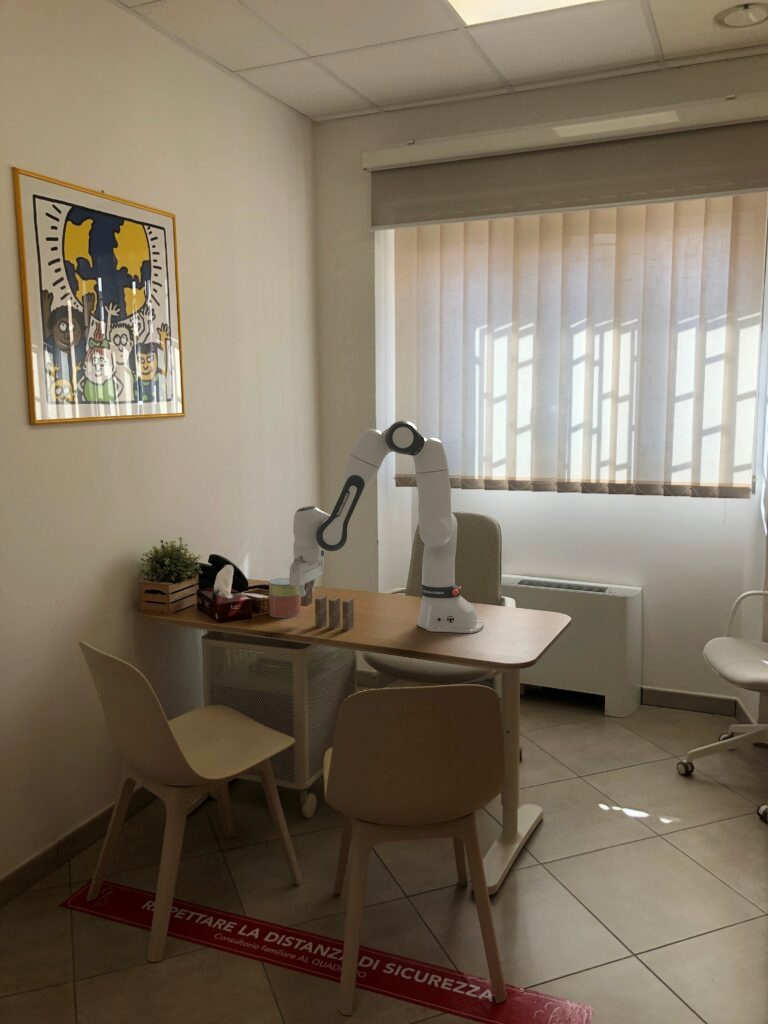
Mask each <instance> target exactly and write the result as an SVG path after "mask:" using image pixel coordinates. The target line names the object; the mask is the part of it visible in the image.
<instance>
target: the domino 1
mask: <svg viewBox="0 0 768 1024" xmlns="http://www.w3.org/2000/svg"><path fill="white" fill-rule="evenodd" d="M304 589H305V591H306V596H304V597H301V607H308V606H310V605H312V604H313V592H312V581H310V582H308V583H305V587H304Z"/></svg>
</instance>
